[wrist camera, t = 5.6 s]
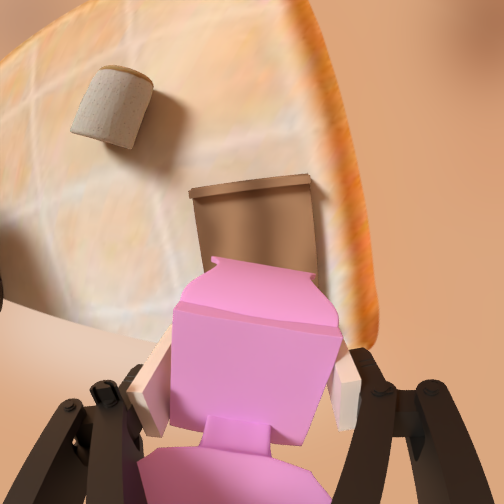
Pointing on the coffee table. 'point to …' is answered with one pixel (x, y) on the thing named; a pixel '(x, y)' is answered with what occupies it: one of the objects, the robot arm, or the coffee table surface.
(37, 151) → the coffee table surface
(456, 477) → the robot arm
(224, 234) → the shelf board
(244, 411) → the toy chair
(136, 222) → the coffee table surface
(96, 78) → the ceramic mug
